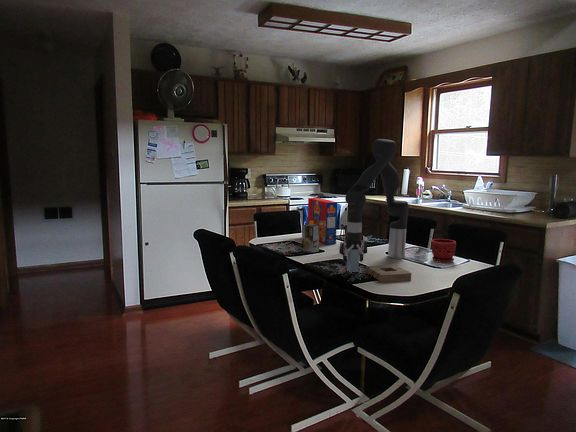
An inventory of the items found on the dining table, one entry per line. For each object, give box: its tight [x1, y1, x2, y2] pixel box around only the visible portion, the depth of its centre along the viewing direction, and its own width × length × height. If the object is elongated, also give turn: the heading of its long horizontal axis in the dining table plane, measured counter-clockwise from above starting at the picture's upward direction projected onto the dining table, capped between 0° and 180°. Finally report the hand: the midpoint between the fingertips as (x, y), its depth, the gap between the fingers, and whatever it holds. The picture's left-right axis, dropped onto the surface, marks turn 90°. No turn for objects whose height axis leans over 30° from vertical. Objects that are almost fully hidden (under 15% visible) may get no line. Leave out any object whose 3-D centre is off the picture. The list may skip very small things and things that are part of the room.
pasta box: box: [307, 197, 338, 246], centre depth 286 cm, size 28×8×28 cm, turn 22°
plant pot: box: [430, 238, 457, 264], centre depth 236 cm, size 13×13×12 cm
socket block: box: [365, 263, 412, 283], centre depth 205 cm, size 16×16×4 cm
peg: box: [346, 249, 360, 274], centre depth 212 cm, size 4×4×12 cm
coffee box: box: [301, 223, 320, 253], centre depth 255 cm, size 9×6×16 cm
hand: (352, 262), depth 212 cm, fingers open, 8 cm apart
